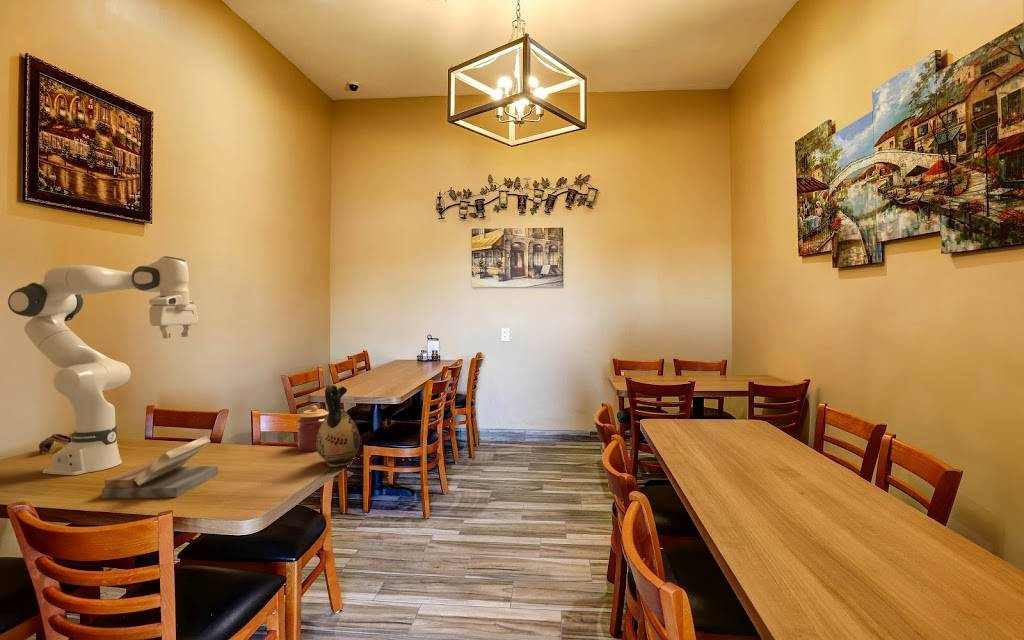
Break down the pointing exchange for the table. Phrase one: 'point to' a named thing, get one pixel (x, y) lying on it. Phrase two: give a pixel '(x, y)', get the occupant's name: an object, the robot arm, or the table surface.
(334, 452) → the ceramic jug
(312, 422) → the canister
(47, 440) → the strapped headlamp
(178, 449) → the plank
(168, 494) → the grey flat block
